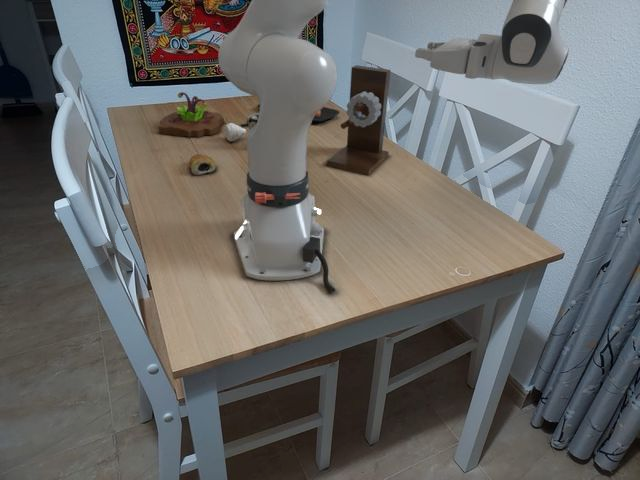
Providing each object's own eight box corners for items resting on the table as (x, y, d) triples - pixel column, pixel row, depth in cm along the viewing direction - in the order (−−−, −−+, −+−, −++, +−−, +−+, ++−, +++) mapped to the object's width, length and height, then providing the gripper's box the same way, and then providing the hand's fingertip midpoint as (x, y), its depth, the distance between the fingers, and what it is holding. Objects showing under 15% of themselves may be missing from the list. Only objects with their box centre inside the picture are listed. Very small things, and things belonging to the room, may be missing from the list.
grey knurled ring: (374, 129, 117) (377, 98, 112) (345, 124, 120) (347, 93, 115) (379, 125, 120) (382, 94, 115) (351, 120, 123) (353, 89, 118)
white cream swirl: (249, 141, 139) (248, 123, 136) (231, 144, 136) (229, 126, 133) (243, 135, 143) (241, 118, 140) (225, 138, 140) (223, 121, 137)
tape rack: (368, 175, 120) (376, 83, 107) (326, 165, 125) (330, 76, 111) (388, 156, 131) (397, 70, 118) (349, 148, 136) (354, 64, 123)
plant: (172, 115, 157) (167, 83, 151) (228, 117, 156) (225, 85, 150) (152, 136, 140) (145, 100, 134) (214, 138, 140) (210, 102, 134)
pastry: (187, 162, 124) (185, 149, 122) (211, 159, 126) (210, 146, 124) (192, 176, 117) (190, 162, 115) (218, 173, 119) (217, 159, 117)
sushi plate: (342, 116, 161) (343, 105, 159) (291, 140, 140) (291, 128, 138) (279, 101, 174) (278, 91, 172) (224, 121, 153) (223, 110, 151)
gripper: (495, 34, 104) (436, 28, 110) (477, 48, 89) (410, 40, 94) (488, 63, 108) (432, 56, 113) (471, 80, 93) (406, 71, 98)
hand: (422, 49), depth 104 cm, fingers open, 8 cm apart
